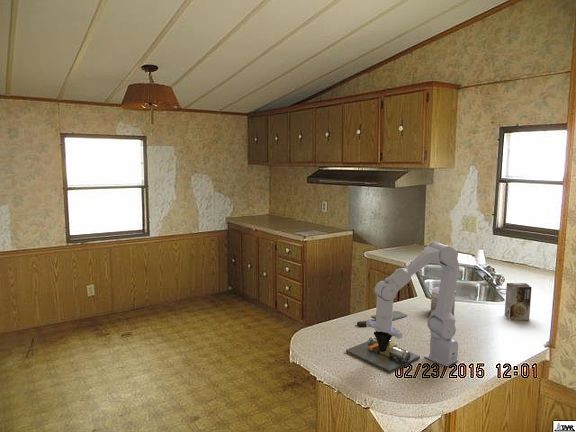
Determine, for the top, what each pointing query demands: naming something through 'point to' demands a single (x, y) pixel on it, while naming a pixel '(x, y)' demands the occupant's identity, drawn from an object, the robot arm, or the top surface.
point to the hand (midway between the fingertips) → (382, 350)
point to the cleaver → (394, 316)
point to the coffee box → (518, 301)
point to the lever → (376, 346)
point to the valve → (383, 355)
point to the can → (435, 297)
